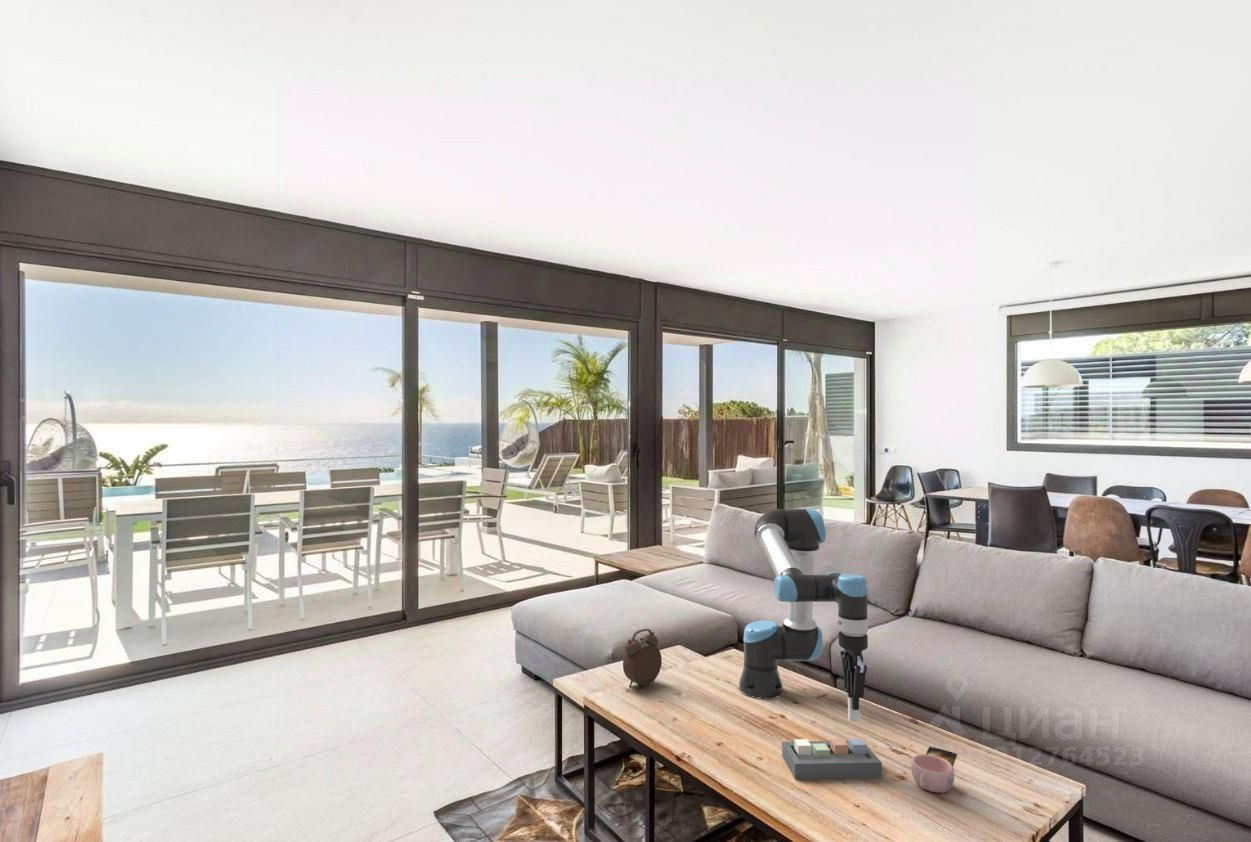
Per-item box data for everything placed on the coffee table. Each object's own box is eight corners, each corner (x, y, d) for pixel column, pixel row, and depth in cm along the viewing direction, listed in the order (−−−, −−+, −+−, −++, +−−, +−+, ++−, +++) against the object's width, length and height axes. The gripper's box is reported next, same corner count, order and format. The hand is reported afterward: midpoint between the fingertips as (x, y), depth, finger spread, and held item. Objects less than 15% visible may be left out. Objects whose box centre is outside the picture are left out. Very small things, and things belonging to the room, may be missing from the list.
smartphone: (957, 753, 177) (948, 775, 165) (957, 755, 177) (948, 778, 165) (929, 745, 181) (918, 767, 169) (929, 748, 181) (919, 769, 169)
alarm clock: (649, 677, 234) (649, 623, 235) (663, 683, 229) (663, 627, 229) (619, 687, 225) (619, 630, 225) (632, 693, 219) (632, 635, 220)
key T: (830, 747, 172) (830, 738, 172) (843, 747, 172) (843, 738, 172) (835, 754, 169) (835, 745, 169) (848, 754, 169) (848, 744, 169)
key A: (848, 747, 172) (848, 738, 172) (861, 747, 173) (861, 738, 173) (853, 753, 169) (853, 744, 169) (866, 753, 169) (866, 744, 169)
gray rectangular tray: (782, 756, 176) (782, 741, 176) (862, 754, 177) (862, 740, 177) (795, 779, 164) (794, 763, 164) (881, 777, 165) (881, 762, 165)
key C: (812, 752, 172) (812, 743, 172) (825, 752, 172) (825, 743, 172) (816, 759, 168) (816, 750, 168) (830, 759, 169) (829, 749, 169)
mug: (921, 772, 168) (921, 749, 168) (960, 787, 160) (960, 763, 160) (900, 788, 160) (900, 765, 160) (941, 805, 152) (941, 780, 152)
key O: (794, 748, 172) (794, 739, 172) (807, 748, 172) (807, 739, 172) (798, 754, 168) (798, 745, 168) (811, 754, 168) (811, 745, 168)
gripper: (831, 625, 178) (832, 709, 177) (848, 640, 165) (849, 731, 164) (857, 625, 178) (858, 709, 177) (876, 639, 165) (877, 730, 164)
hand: (853, 719), depth 171 cm, fingers closed
